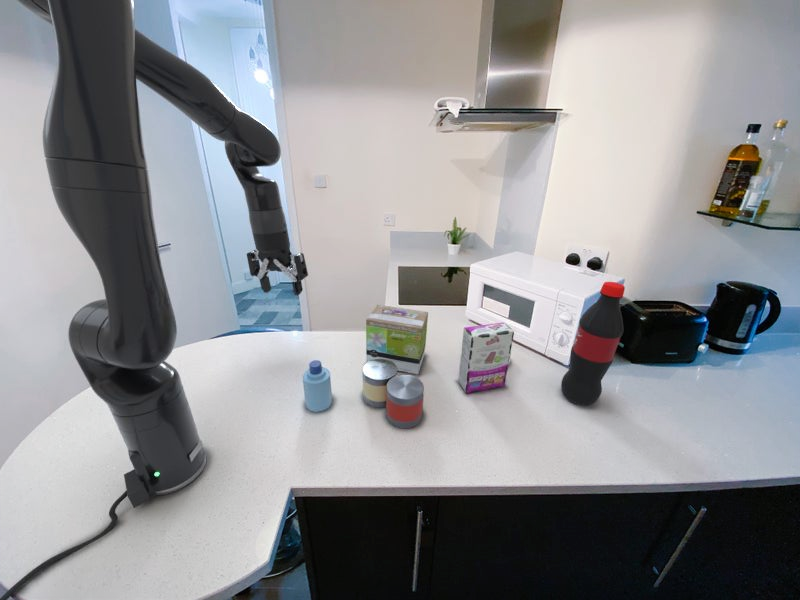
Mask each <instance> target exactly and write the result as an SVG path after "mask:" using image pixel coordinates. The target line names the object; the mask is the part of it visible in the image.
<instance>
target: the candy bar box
mask: <svg viewBox="0 0 800 600" xmlns="http://www.w3.org/2000/svg"><path fill="white" fill-rule="evenodd" d="M514 336H515V330H514V329H513V328H512V327H510V326H509V325H507V323H505V322H503V321H502V322H497V323H487V324H481V325H473V326H466V327H465V326H464V327H463V332H462V342H461V353H460V362H459V371H458V381H457V382H458V384H459V386H460V387H461V389H462V390H463V391H464V393H465V394H470V393H477V392H480V391H481V392H482V391H486V390H493V389H496V388H502V387H505V385H506V379H507V376H508V375H507V374H508V368H509V365H510V363H509V358H510V359H511V357H510V353H511V354H512V347H513V340H514Z"/></svg>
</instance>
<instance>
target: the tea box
mask: <svg viewBox="0 0 800 600" xmlns="http://www.w3.org/2000/svg"><path fill="white" fill-rule="evenodd" d="M428 320H429V311H423V310H416V309H409V308H402V307H396V306H389V305H383V304H376V306H375V308H373V310H372V312H370V314H369V316H368V317H367V319H366V320H365V343H366V344H365V349H366V350H365V356H366V357H365V358H366V359H365V360H366V363H367V362H369V361H371V360H375V359H386V360H389V361H392V362H393V363H394V364H395V365H396V366H397V372H398V371H399V372H404V373H409V374H413V375H419V373H420V371H421V370H420V369H421V366H422V363H423V360H424V357H425V353H426V343H427V331H428Z"/></svg>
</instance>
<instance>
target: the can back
mask: <svg viewBox="0 0 800 600" xmlns="http://www.w3.org/2000/svg"><path fill="white" fill-rule="evenodd" d="M395 376H398V370H397V366H396V365H395V364H394V363H393V362H392V361H389V360H386V359H375V360H371V361H369V362H367V361H366V363H364V365H363V366H362V393H363V394H362V395H363V396H362V397H363V400H364V402H365V403H366V404H367V405H368V406H370V407H373V408H376V409H377V408H378V409H379V408H386V392H387V383H388V381H389V380H390V379H391V378H393V377H395Z"/></svg>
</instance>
